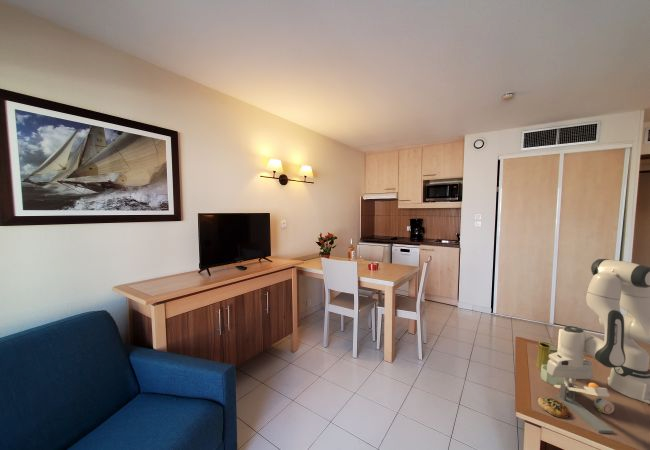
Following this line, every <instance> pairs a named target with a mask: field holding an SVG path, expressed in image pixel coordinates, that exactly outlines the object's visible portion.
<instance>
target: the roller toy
mask: <svg viewBox="0 0 650 450" xmlns="http://www.w3.org/2000/svg"><path fill="white" fill-rule="evenodd" d="M593 404H594V406H595V408H596V409H597V410H598V412H599V413H601V414H602V413H603V414H606V415H611V414H612V413H614V412H615V411H614V410H615V406H614V404H613V403H612V402H610V401H609V400H608V399H606V398H605V397H604V396H597V397H596V398H595V399H594V401H593Z"/></svg>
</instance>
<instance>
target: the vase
mask: <svg viewBox="0 0 650 450" xmlns="http://www.w3.org/2000/svg"><path fill="white" fill-rule="evenodd" d="M537 348H538V349H537V357H536V364H535V367H536V368H537V369H538V370H540V371H541V366H542V365H547V363H548V361H549V360H550V358H549V354H550V346H549V345H547V344H545V343H539V342H538V347H537Z"/></svg>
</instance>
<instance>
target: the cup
mask: <svg viewBox="0 0 650 450" xmlns="http://www.w3.org/2000/svg"><path fill="white" fill-rule="evenodd" d="M540 379H541V380H543V382H545V383H547V384H548V385H551V386H554V385H561V384H564V379H563V378H557V377H552V376H551V375H549V374H548V372H547V365H542V366H541V370H540ZM564 385H565V384H564Z"/></svg>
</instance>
